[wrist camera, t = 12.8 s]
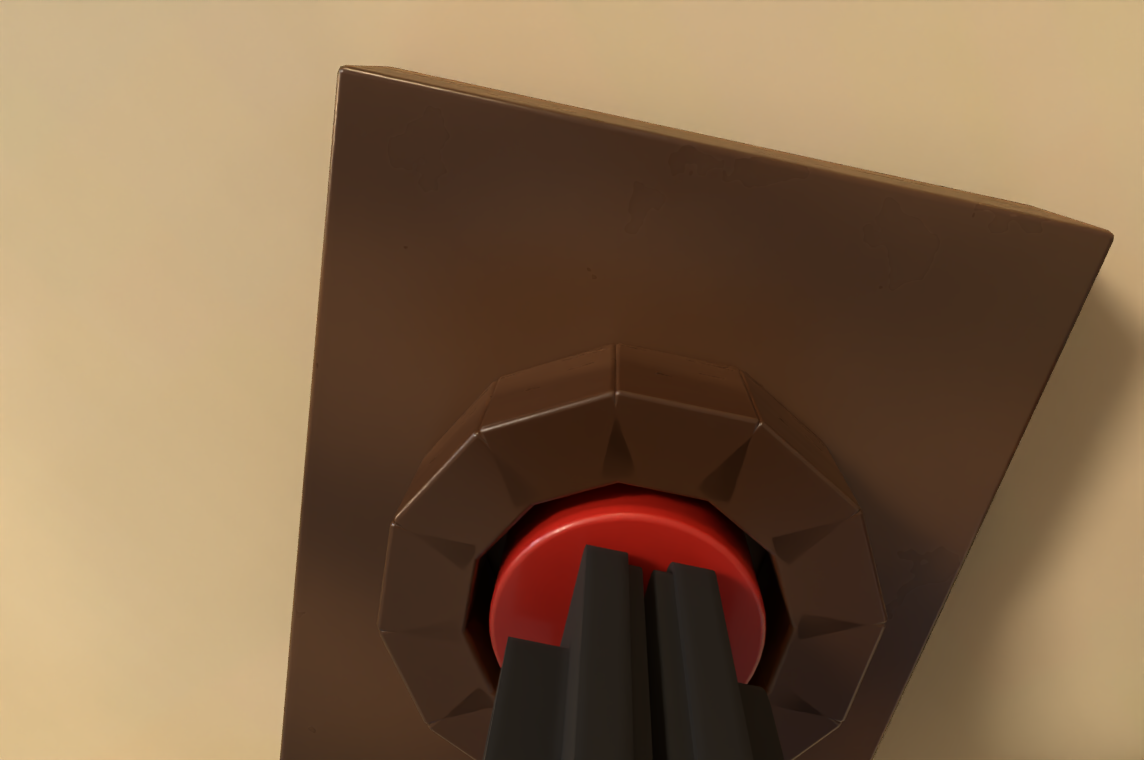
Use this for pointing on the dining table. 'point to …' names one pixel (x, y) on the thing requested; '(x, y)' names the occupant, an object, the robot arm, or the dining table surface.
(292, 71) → the dining table surface
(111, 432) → the dining table surface
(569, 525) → the button
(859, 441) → the housing
